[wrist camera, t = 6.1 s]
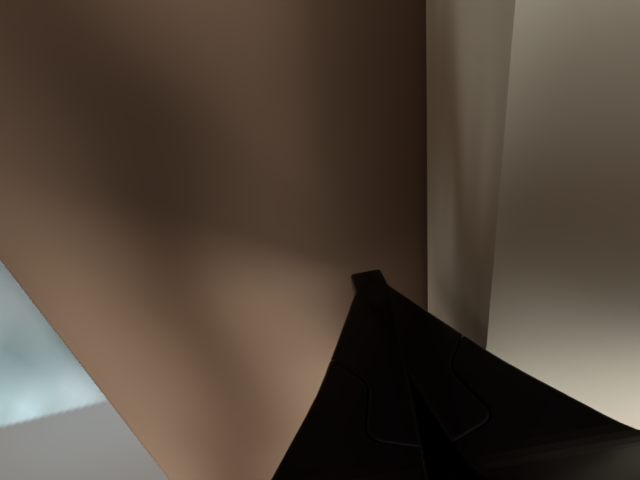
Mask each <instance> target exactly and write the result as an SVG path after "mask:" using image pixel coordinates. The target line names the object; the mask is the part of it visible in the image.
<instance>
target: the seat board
mask: <svg viewBox="0 0 640 480" xmlns="http://www.w3.org/2000/svg"><path fill="white" fill-rule="evenodd" d="M0 260H1V261H2V262H3V264H4V265H5V266H6V268H7V269H8V270H9V272H10V273H11V274H12V275H13V277H14V278H15V279H16V281H17V282H18V283H19V285H20V286H21V287H22V289H23V290H24V291H25V292H26V294H27V295H28V296H29V298H30V299H31V300H32V302H33V303H34V304H35V305H36V307H37V308H38V309H39V311H40V312H41V313H42V315H43V316H44V317H45V319H46V320H47V321H48V322H49V324H50V325H51V326H52V328H53V329H54V330H55V332H56V333H57V334H58V335H59V337H60V338H61V339H62V341H63V342H64V343H65V345H66V346H67V347H68V349H69V350H70V351H71V352H72V354H73V355H74V356H75V358H76V359H77V360H78V362H79V363H80V364H81V365H82V367H83V368H84V369H85V371H86V372H87V373H88V375H89V376H90V377H91V379H92V380H93V381H94V382H95V384H96V385H97V386H98V388H99V389H100V390H101V392H102V393H103V394H104V395H105V397H106V398H107V399H108V401H109V402H110V403H111V405H112V406H113V407H114V409H115V410H116V411H117V412H118V414H119V415H120V416H121V418H122V419H123V420H124V421H125V423H126V424H127V425H128V427H129V428H130V429H131V431H132V432H133V433H134V435H135V436H136V437H137V438H138V440H139V441H140V442H141V444H142V445H143V446H144V448H145V449H146V450H147V452H148V453H149V454H150V455H151V457H152V458H153V459H154V461H155V462H156V463H157V465H158V466H159V467H160V468H161V469H162V471H163V472H164V474H165V475H166V476H167V477H168V479H169V480H271V479H272V477H273V475H274V473H275V471H276V470H277V468H278V466H279V464H280V462H281V460H282V459H283V457H284V455H285V453H286V451H287V450H288V448H289V446H290V444H291V442H292V440H293V439H294V437H295V435H296V433H297V431H298V430H299V428H300V426H301V424H302V422H303V420H304V419H305V417H306V415H307V413H308V411H309V409H310V407H311V405H312V403H313V401H314V399H315V397H316V395H317V393H318V390H319V388H320V386H321V383H322V381H323V378H324V376H325V373H326V371H327V368H328V365H329V363H330V361H331V358H332V355H333V352H334V349H335V347H336V344H337V341H338V338H339V336H340V333H341V330H342V328H343V325H344V322H345V319H346V317H347V314H348V311H349V309H350V306H351V303H352V300H353V298H354V295H353V289H352V284H351V275H352V274H356V273H361V272H366V271H371V270H376V269H379V270H380V271H381V272H382V274H383V276H384V278H385V280H386V282H387V283H388V285H389V286H390V287H392V288H393V289H395V290H396V291H398V292H399V293H401V294H402V295H404V296H405V297H407V298H408V299H410V300H411V301H413V302H414V303H416V304H417V305H419V306H420V307H422V308H423V309H425V310H426V311H428V249H427V62H426V0H0Z"/></svg>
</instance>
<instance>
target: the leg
mask: <svg viewBox="0 0 640 480" xmlns="http://www.w3.org/2000/svg"><path fill="white" fill-rule="evenodd" d="M426 62H427V249H428V312H429V313H431V314H432V315H434V316H435V317H437V318H438V319H440V320H441V321H443V322H444V323H446V324H447V325H449V326H451V327H452V328H454V329H455V330H457V331H458V332H460V333H461V334H462V335H463V336H466V337H467V338H469V339H470V340H472V341H473V342H475V343H476V344H478V345H479V346H481V347H483V348H484V349H486V350H487V351H489V352H491V353H492V354H494V355H495V356H497V357H499V358H500V359H502V360H504V361H506V362H507V363H509V364H511V365H513V366H514V367H516V368H518V369H520V370H522V371H523V372H525V373H527V374H529V375H531V376H533V377H534V378H536V379H538V380H540V381H542V382H544V383H546V384H548V385H550V386H551V387H553V388H555V389H557V390H559V391H561V392H563V393H565V394H567V395H568V396H570V397H572V398H574V399H576V400H578V401H580V402H582V403H584V404H585V405H587V406H589V407H591V408H593V409H595V410H597V411H599V412H601V413H602V414H604V415H606V416H608V417H610V418H612V419H614V420H617V421H619V422H621V423H623V424H626V425H628V426H630V427H633V428H635V429H638V430H640V0H426Z"/></svg>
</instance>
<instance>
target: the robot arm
mask: <svg viewBox="0 0 640 480" xmlns="http://www.w3.org/2000/svg"><path fill="white" fill-rule="evenodd" d="M351 284H352V289H353V295H354V298H353V300H352V303H351V306H350V309H349V311H348V314H347V317H346V319H345V322H344V325H343V328H342V330H341V333H340V336H339V338H338V341H337V344H336V347H335V349H334V352H333V355H332V358H331V361H330V363H329V365H328V368H327V371H326V373H325V376H324V378H323V381H322V383H321V386H320V388H319V390H318V393H317V395H316V397H315V399H314V401H313V403H312V405H311V407H310V409H309V411H308V413H307V415H306V417H305V419H304V420H303V422H302V424H301V426H300V428H299V430H298V431H297V433H296V435H295V437H294V439H293V440H292V442H291V444H290V446H289V448H288V450H287V451H286V453H285V455H284V457H283V459H282V460H281V462H280V464H279V466H278V468H277V470H276V471H275V473H274V475H273V477H272V479H271V480H640V430H638V429H635V428H633V427H630V426H628V425H626V424H623V423H621V422H619V421H617V420H614V419H612V418H610V417H608V416H606V415H604V414H602V413H601V412H599V411H597V410H595V409H593V408H591V407H589V406H587V405H585V404H584V403H582V402H580V401H578V400H576V399H574V398H572V397H570V396H568V395H567V394H565V393H563V392H561V391H559V390H557V389H555V388H553V387H551V386H550V385H548V384H546V383H544V382H542V381H540V380H538V379H536V378H534V377H533V376H531V375H529V374H527V373H525V372H523V371H522V370H520V369H518V368H516V367H514V366H513V365H511V364H509V363H507V362H506V361H504V360H502V359H500V358H499V357H497V356H495V355H494V354H492V353H491V352H489V351H487V350H486V349H484V348H483V347H481V346H479V345H478V344H476V343H475V342H473V341H472V340H470V339H469V338H467V337H466V336H463V335H462V334H461V333H460V332H458V331H457V330H455V329H454V328H452V327H451V326H449V325H447V324H446V323H444V322H443V321H441V320H440V319H438V318H437V317H435V316H434V315H432V314H431V313H429V312H428V311H426V310H425V309H423V308H422V307H420V306H419V305H417V304H416V303H414V302H413V301H411V300H410V299H408V298H407V297H405V296H404V295H402V294H401V293H399V292H398V291H396V290H395V289H393V288H392V287H390V286H389V285H388V283H387V282H386V280H385V278H384V276H383V274H382V272H381V271H380V270H379V269H376V270H371V271H366V272H361V273H356V274H352V275H351Z"/></svg>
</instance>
